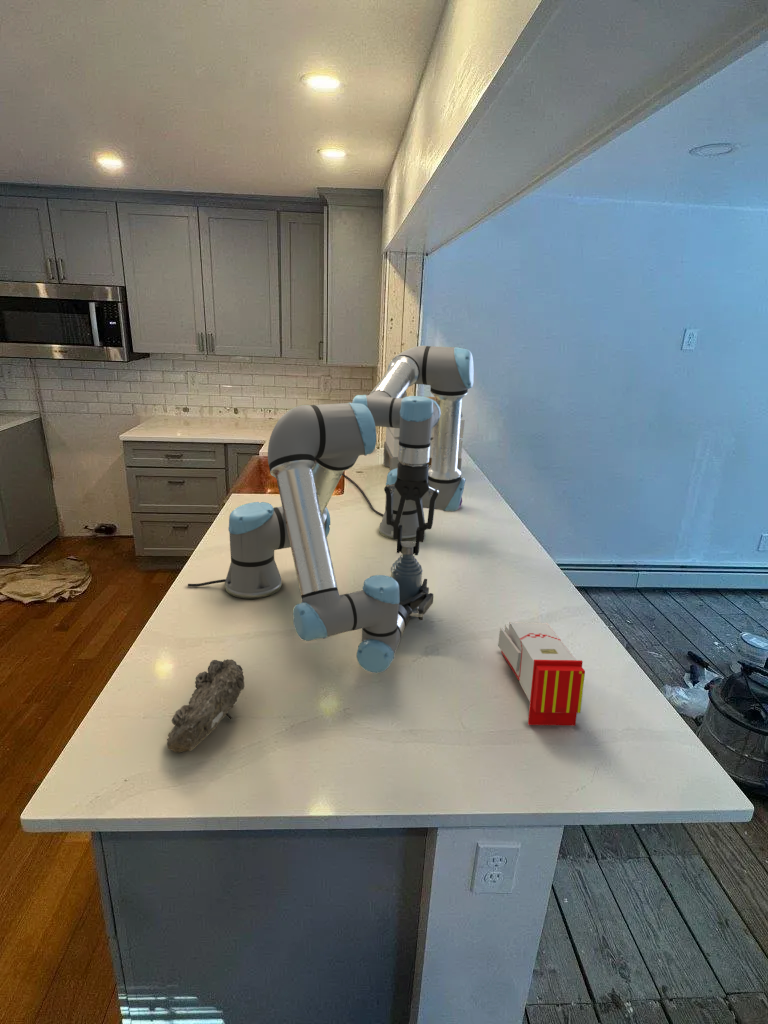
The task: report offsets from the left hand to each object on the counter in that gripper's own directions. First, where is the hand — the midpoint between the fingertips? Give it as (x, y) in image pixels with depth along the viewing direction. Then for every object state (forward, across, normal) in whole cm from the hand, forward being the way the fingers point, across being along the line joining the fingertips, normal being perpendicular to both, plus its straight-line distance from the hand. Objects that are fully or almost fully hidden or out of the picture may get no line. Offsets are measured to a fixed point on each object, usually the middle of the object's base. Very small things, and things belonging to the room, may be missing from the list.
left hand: (409, 581), depth 152 cm
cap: (-5, 0, +12) cm, 13 cm away
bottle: (-5, 0, -6) cm, 8 cm away
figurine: (+82, +1, -6) cm, 82 cm away
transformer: (+128, -20, -6) cm, 129 cm away
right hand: (-5, 0, +10) cm, 12 cm away
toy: (-26, +33, -6) cm, 43 cm away
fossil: (-56, -27, -6) cm, 62 cm away
